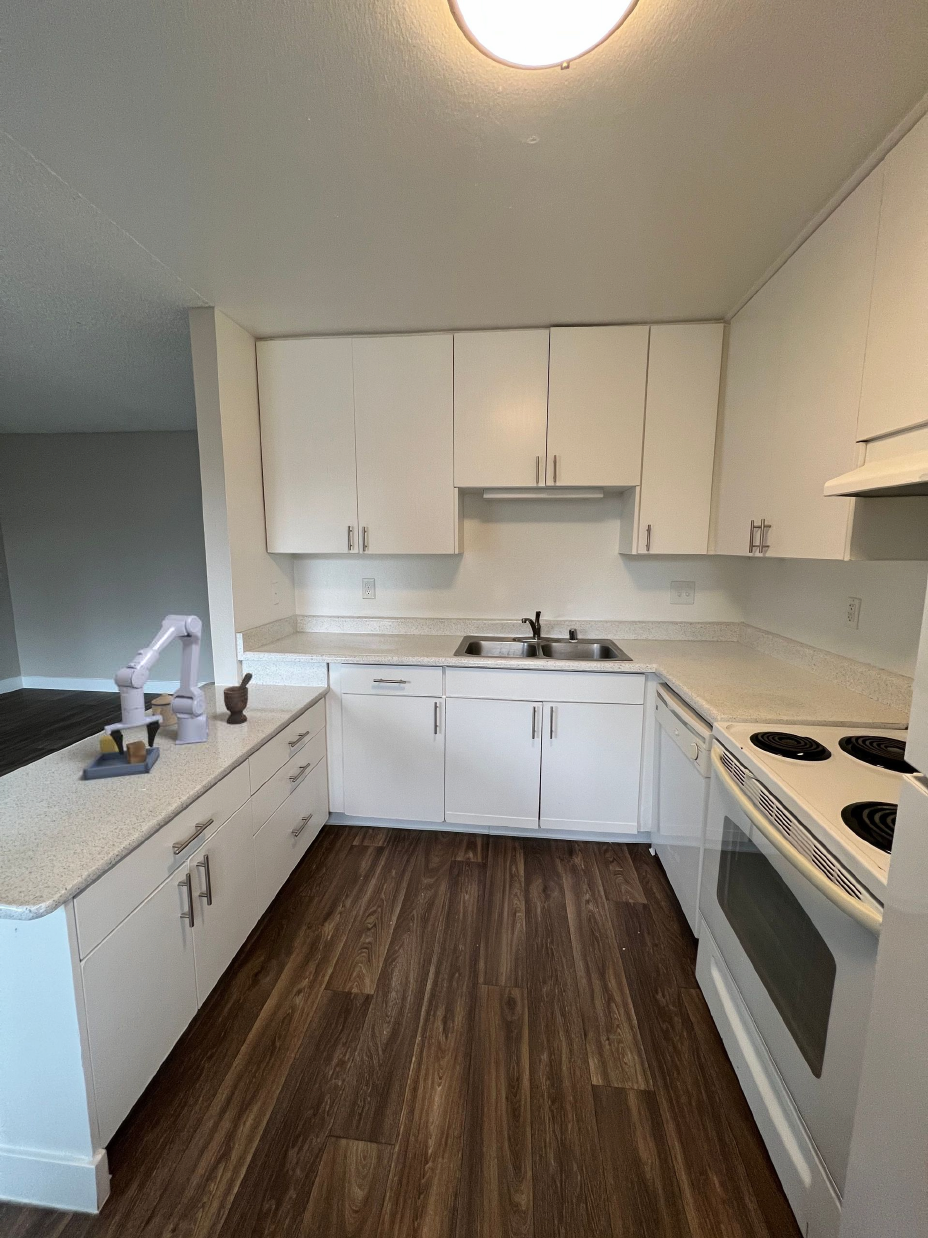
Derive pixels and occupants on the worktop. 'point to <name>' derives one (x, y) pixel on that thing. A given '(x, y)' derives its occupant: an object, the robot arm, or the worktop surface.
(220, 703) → the worktop surface
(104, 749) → the mustard block
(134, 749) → the walnut block
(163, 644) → the robot arm
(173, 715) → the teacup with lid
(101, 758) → the slate blue tray
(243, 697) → the mortar and pestle
